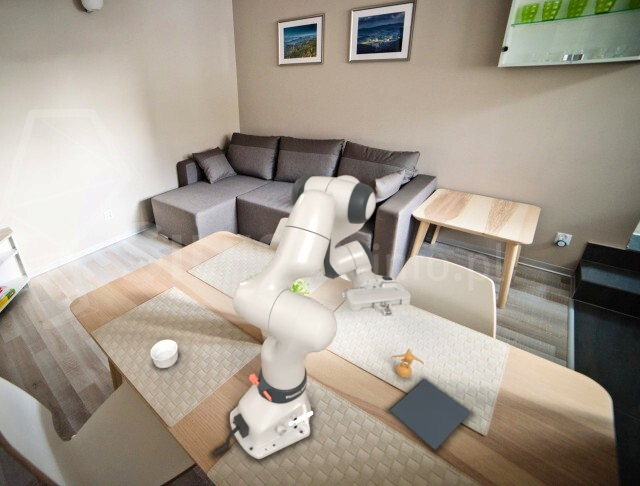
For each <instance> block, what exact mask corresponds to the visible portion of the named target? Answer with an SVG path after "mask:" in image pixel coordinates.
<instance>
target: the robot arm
mask: <svg viewBox="0 0 640 486" xmlns="http://www.w3.org/2000/svg"><path fill="white" fill-rule="evenodd" d="M290 200H291V204H292V206H293V207H292V209H291V211H290V213H289V216H288V218H287V221H286V224H285V226H284V229H283V232H282V234H281V238H280V240H279V243H278V245H277V247H276V250H275V252H274V255H273V257H272V258H271V259H270V261H269V263H268V264H267V265H266V266H265V267H264V268H263V269H262V270H261V271H259V272H258V273H257V274H254V275H253V276H251V277H248V278H246V279H244V280H243V281H242V282H241V283H239V284H238V286H237V287H236V289H235V290H234V292H233V296H232V297H233V298H232V305H233V306H232V307H233V310H234V312H235V314H237V316H239V317H240V318H242V319H243V320H244V321H245V322H247V323H248V324H250V325H252V326H254V327H256V328H258V329H260V330H262V331H264V332H266V333H269V334H270V335H269V336H268V337H266V339H265V340H264V342H263V343H262V345H261V348H260V361H261V362H260V363H261V364H260V365H261V366H260V370H259V373H258V375H256V373H252V374H251V373H250V375H249V377H248V380H249V381H250V382H251V383H252V385H251V386H250V388H249V389H248V390H247V391H246V392H245V394H244V395H242V397H241V398H240V399H239V402H238V405H237V406H236V407H235V408H234V409H232V411H231V412H230V414H229V424H230V429H231V431H230V432H229V433H228V435H227V437H226V439H225V443H224V444H223V445H222V446H221V447H219V448H217V449H216V450H214V451H213V452H212V453H213V455H214V456H217V455H219V454H221V453H222V452H225V450H226V449H228V447H229V446H230V444H231V439H232V437H233V436H234V437H235V439H236V440H237V442H238V444H239V446H241V448H242V449H243V450H244V451H245V452H246V453H247V454H248V455H249V456H251V457H252V458H254V459H257V460H260V459H263V458H266V457H267V456H269V455H272V454H274V453H276V452H278V451H280V450H282V449H285V448H286V447H289V446H291V445H292V444H295V443H296V442H298V441H301V440H303V439H305V438H307V437H309V436H310V435H311V427H310V420H311V419H310V418H311V416H312V415H313V414H314V412H313V410H312V405H311V402H310V400H309V397H308V394H307V386H308V373H307V367H306V361H307V356H308V355H310V354H312V353H320V352H322V351H324V350H326V349H327V348H329V346H330V345H332V343H333V341H334V340H335V337H336V335H337V330H338V322H337V318H336V315H335V313H334V310H332V309H331V308H329V307H328V306H326V305H325V304H323V303H322V302H320V301H318V300H316V299H315V298H312V297H310V296H307V295H304V294H301V293H299V292H296V291H294V290H291V289H292V286H293V285H294V283H295V282H296V281H298V280H299V279H305V278H309V277H313V276H315V275H316V274H318V273H319V272H321V274H322V275H323V276H324V277H325V278H328V279H331V280H334V279H337V278H339V277H341V276H343V275H345V276H346V278H347V279H348V281H349V282H350V283H351V284H352V285H353V286H352V287H353V288H346V289H344V290H343V291H341V296H342V298H343V299H345V302H346V305H347V308H348V310H349V311H351V312H360V311H369V310H371V311H372V310H374V311H376V312H377V313H379V314H381V315H382V317H390V316H394V310H393V309H392V308H394V307H404V306H409V305H410V303H411V299H412V296H411V294H410V292H409V291H408V290H407V289H406V288H405V287H404V286H403V285H402V284H400V283H399V282H397V279H396V278H395V277H394V276H385V275H379V274H376V273H374V272H373V271H372V269H373V266H374V262H375V258H374V254H373V252H372V250H371V249H370V247H369V246H368V245H367V244H366V243H365V242H363V241H361V240H358V239H356V240H353V241H351V242H348V243H345V244H343V245H340V246H338V247H336V246H337V245H338V244H339V243H340V242H342V241H343V240H344V239H346V238H348V237H350V236H352V235H354V234H355V233H357V232H358V231H360V230H361V229H362V228H363V226H365V223H366V222H368V221H369V220H370V219H371V216H372V215H373V213H374V212H375V209H376V203H377V201H376V192H375V190H374V189H373V188H372V187H371V186H370V185H368V184H365V183H363V182H360V180H359V179H358V178H356V177H355V176H354V175H353V176H352V175H349V174H348V175H347V174H345V175H344V174H343V175H339V176H337V177H333V176H323V175H322V176H320V175H313V174H305V175H301V176H300V177H299V178H297V179H296V181H295V182H294V184H293V185H292V188H291V193H290Z"/></svg>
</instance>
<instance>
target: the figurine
mask: <svg viewBox="0 0 640 486" xmlns="http://www.w3.org/2000/svg"><path fill="white" fill-rule="evenodd" d="M392 358H401V362H400V363H398V364H397V365H396V368H395V369H396V374H398V376H400V377H401V378H403V379H404V378H405V379H407V378H409V377H411V376H412V368H411V364H413V363H414V361H413V360H416V361H418V362H420V363H421V364H422V365H424V364H425V363H424V362H423V361H422V359H420V358H418V357H417V356H415V355H414V354H413V353H412V351H411V349H410V348H408V349H407V350H406V352H405V353H403V354H396V355H392V356H390V359H392Z"/></svg>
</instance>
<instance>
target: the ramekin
mask: <svg viewBox="0 0 640 486" xmlns="http://www.w3.org/2000/svg"><path fill="white" fill-rule="evenodd" d="M178 348H179V347H178V343H177V342H176V341H175V340H172V339H162V340H160V341H158V342H156V343H155V344H154V345H152V347H151V349H150V353H149V354H150V357H151V359H152V361H153V363H154V365H155V367H157V368H159V369H166V368H170V367H172V366H173V365H174V364H175V363H176V362H177V361H178V357H179V351H178Z"/></svg>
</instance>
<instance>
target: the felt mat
mask: <svg viewBox="0 0 640 486" xmlns="http://www.w3.org/2000/svg"><path fill="white" fill-rule="evenodd" d="M389 412H390V413H391V414H392V415H394V417H396V418H397V419H398V420H399V421H400V422H402V424H404V425H405V426H406V427H407V428H408V429H410V430H411V431H412V432H413V433H414V434H415V435H417V436H418V437H419V438H420V439H421V440H422V441H423V442H425V443H426V444H427V445H428V446H429V447H430V448H432V449H433V450H434V451H436V450H437V449H438V448H439V447H440V446H441V445H442V443H443V442H444V441H446V439H447V438H448V437H449V436H450V435H451V434H452V433H453V432H454V431H455V430H456V428H457V427H458V426H459V425H460V424H461V423H462V422H463V421H464V420H465V419H466V418H467V416H469V414H470V413H471V411H470V410H468V409H467V408H465V406H463V405H461V404H460V403H459V402H457V401H456V400H455V399H453V398H452V397H450V396H449V395H447V394H446V393H445V392H443V391H442V390H440V389H439V388H438V387H436V386H435V385H434V384H432V383H431V382H429V381H428V380H426V379H423V380H422V381H421V382H420V383H418V385H416V387H415V388H413V389H412V390H410V392H409V393H408V394H406V395H405V396H404V397H403V398H402V399H401V400H399V401H398V402H397V403H396V404H395V405H394V406H392V408H390V410H389Z"/></svg>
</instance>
